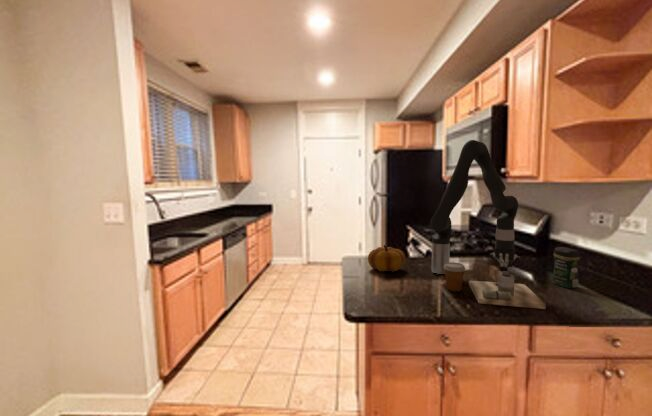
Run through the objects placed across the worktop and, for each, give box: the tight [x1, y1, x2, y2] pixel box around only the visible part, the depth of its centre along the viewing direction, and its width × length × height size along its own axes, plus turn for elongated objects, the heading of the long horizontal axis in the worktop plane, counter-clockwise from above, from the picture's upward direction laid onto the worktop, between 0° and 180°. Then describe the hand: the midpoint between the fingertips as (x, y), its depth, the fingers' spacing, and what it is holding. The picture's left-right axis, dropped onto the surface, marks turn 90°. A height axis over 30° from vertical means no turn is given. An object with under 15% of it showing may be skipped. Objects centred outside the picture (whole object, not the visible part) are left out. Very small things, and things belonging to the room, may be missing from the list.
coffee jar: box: [552, 246, 581, 289], centre depth 142 cm, size 10×8×19 cm
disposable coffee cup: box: [444, 261, 466, 292], centre depth 140 cm, size 10×10×12 cm
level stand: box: [468, 280, 547, 310], centre depth 132 cm, size 24×24×5 cm
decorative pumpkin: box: [367, 244, 406, 273], centre depth 174 cm, size 20×22×15 cm
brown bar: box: [489, 265, 515, 296], centre depth 134 cm, size 19×6×10 cm, turn 170°
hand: (503, 274), depth 139 cm, fingers closed
